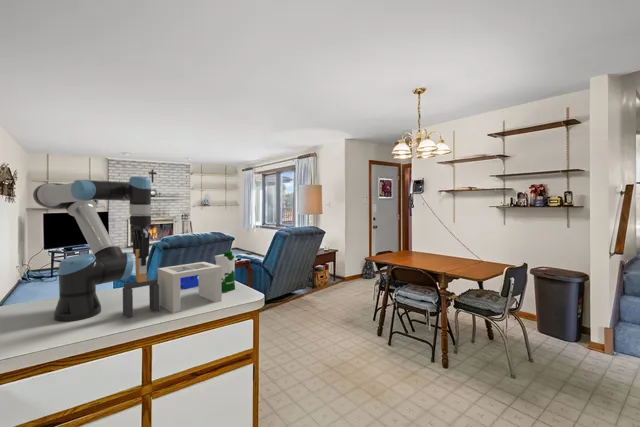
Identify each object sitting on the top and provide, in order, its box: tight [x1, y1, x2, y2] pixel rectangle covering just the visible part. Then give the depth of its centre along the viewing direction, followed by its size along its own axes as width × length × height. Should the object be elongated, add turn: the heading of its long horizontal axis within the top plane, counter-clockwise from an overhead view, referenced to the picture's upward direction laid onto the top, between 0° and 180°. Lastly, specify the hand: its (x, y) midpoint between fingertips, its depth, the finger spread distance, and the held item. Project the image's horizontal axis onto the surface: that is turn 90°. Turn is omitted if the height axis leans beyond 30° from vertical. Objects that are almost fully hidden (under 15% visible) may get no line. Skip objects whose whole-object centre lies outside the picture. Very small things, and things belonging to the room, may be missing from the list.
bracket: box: [178, 271, 199, 290], centre depth 176 cm, size 18×8×9 cm, turn 140°
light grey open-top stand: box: [157, 261, 223, 314], centre depth 145 cm, size 22×16×16 cm
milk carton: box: [214, 250, 237, 293], centre depth 166 cm, size 9×9×20 cm
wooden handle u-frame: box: [122, 249, 160, 319], centre depth 131 cm, size 12×5×26 cm, turn 138°
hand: (141, 272), depth 131 cm, fingers closed on wooden handle u-frame, 3 cm apart
